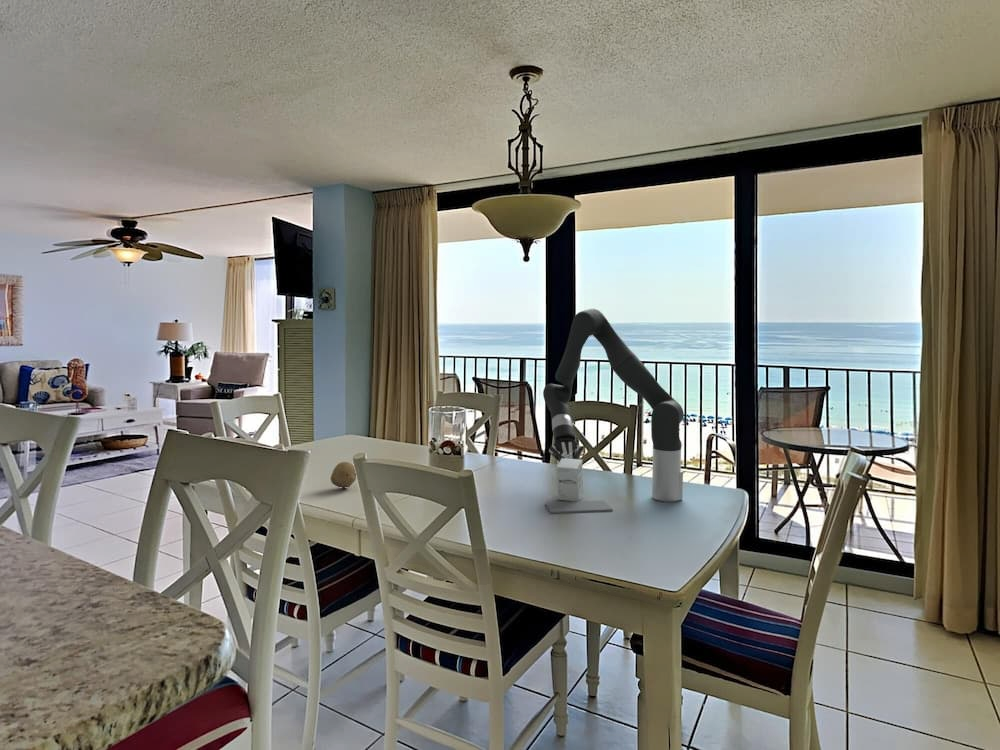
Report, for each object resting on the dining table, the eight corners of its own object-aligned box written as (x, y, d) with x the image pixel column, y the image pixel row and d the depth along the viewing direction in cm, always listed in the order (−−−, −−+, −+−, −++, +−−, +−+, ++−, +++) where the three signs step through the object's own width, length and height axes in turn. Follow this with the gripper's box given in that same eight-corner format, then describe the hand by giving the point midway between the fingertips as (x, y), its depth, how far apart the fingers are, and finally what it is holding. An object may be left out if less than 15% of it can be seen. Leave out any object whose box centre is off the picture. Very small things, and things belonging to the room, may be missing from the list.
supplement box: (557, 500, 203) (555, 466, 199) (563, 490, 210) (561, 457, 206) (579, 502, 201) (577, 468, 197) (584, 492, 207) (582, 458, 203)
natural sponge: (361, 490, 217) (360, 462, 216) (337, 494, 212) (336, 466, 212) (352, 484, 225) (351, 458, 224) (328, 488, 220) (327, 461, 219)
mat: (604, 501, 201) (604, 500, 201) (612, 511, 191) (612, 509, 191) (545, 504, 199) (545, 502, 199) (550, 513, 189) (550, 511, 189)
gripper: (546, 423, 215) (552, 465, 204) (582, 423, 216) (590, 464, 205) (543, 435, 220) (549, 477, 209) (579, 435, 222) (586, 476, 211)
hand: (569, 470), depth 207 cm, fingers closed
